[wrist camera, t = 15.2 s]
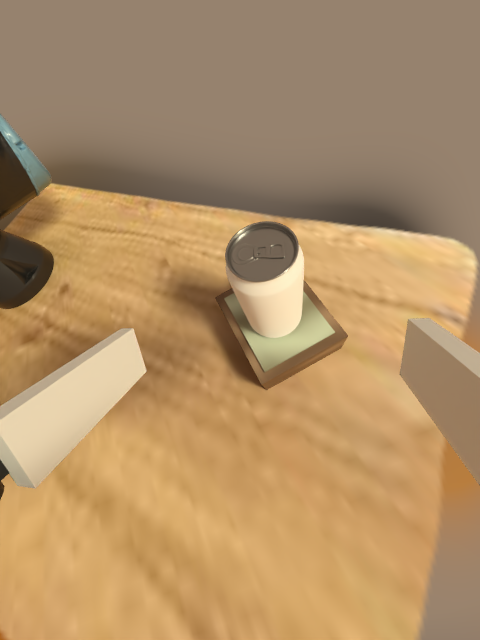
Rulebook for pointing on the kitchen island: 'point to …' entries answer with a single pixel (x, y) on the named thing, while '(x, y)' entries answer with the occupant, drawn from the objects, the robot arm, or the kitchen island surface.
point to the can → (267, 277)
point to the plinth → (285, 339)
